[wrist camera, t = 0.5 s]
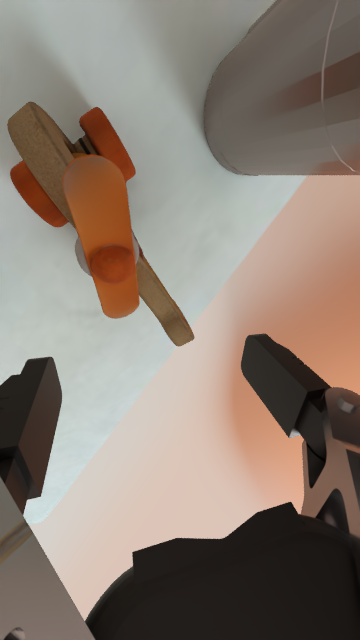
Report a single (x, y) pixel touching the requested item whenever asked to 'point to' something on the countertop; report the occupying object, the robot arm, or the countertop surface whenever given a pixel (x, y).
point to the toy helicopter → (91, 209)
